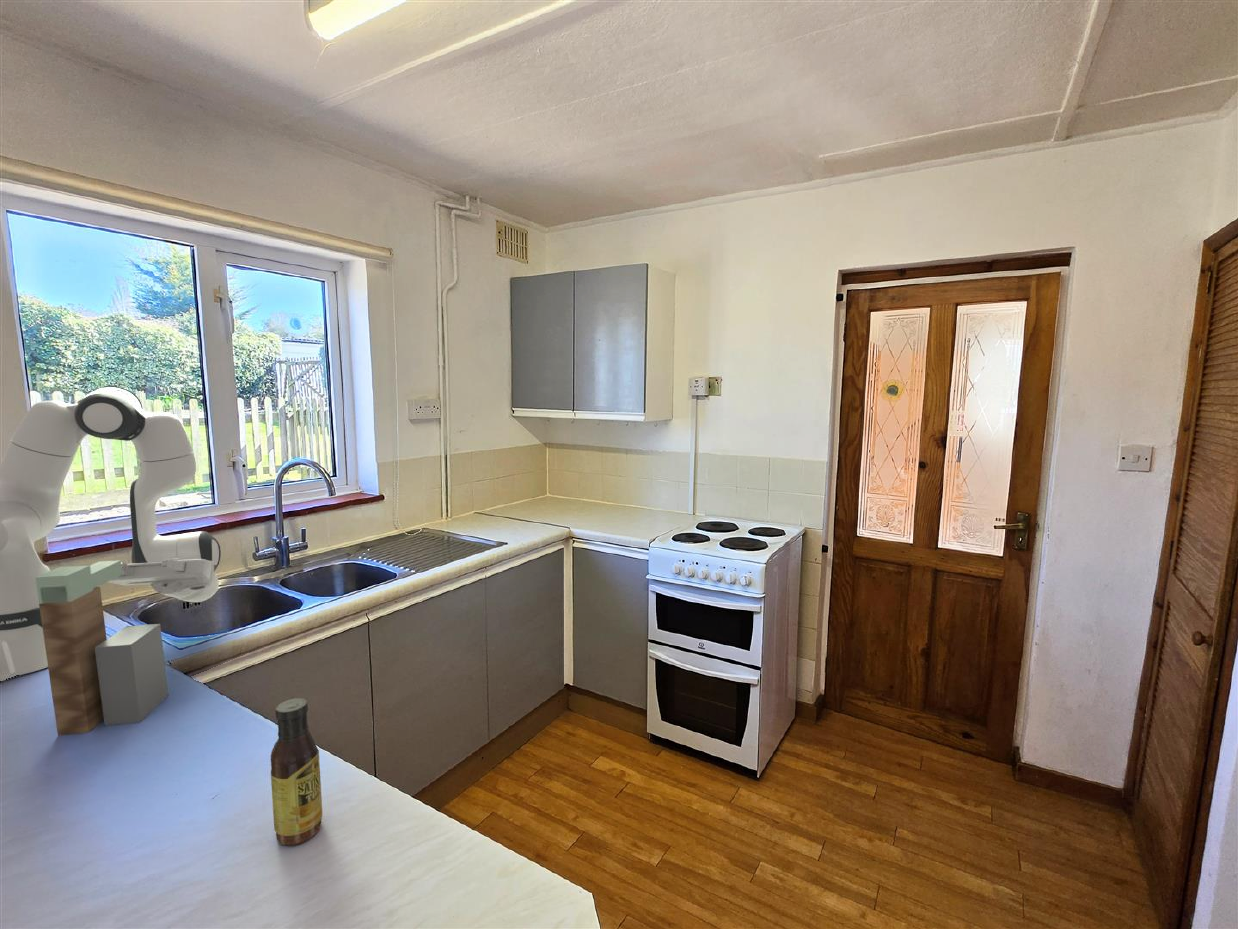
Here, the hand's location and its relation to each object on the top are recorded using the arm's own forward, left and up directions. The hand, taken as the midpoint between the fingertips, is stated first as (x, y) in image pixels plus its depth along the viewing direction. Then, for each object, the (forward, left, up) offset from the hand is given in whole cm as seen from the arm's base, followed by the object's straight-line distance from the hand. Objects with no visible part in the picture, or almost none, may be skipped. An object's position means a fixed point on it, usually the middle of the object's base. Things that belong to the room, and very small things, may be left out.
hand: (141, 564), depth 130 cm
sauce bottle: (+49, -60, -26) cm, 81 cm away
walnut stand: (-1, -21, -25) cm, 33 cm away
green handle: (-1, -17, +1) cm, 17 cm away
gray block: (+6, -18, -25) cm, 31 cm away
